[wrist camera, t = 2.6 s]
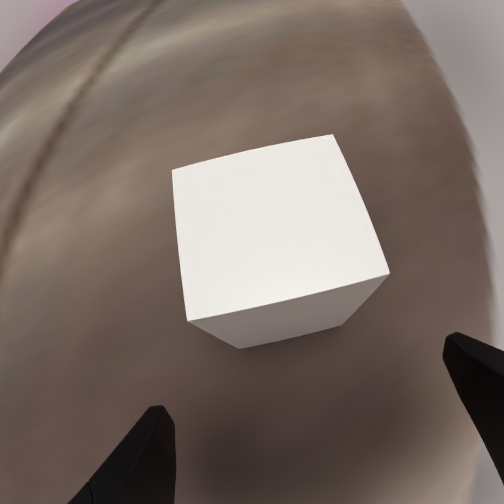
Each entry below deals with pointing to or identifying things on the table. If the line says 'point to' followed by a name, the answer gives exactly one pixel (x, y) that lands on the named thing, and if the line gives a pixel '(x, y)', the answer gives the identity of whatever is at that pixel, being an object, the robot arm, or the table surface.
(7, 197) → the table surface
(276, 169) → the white rectangular block
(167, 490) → the robot arm
